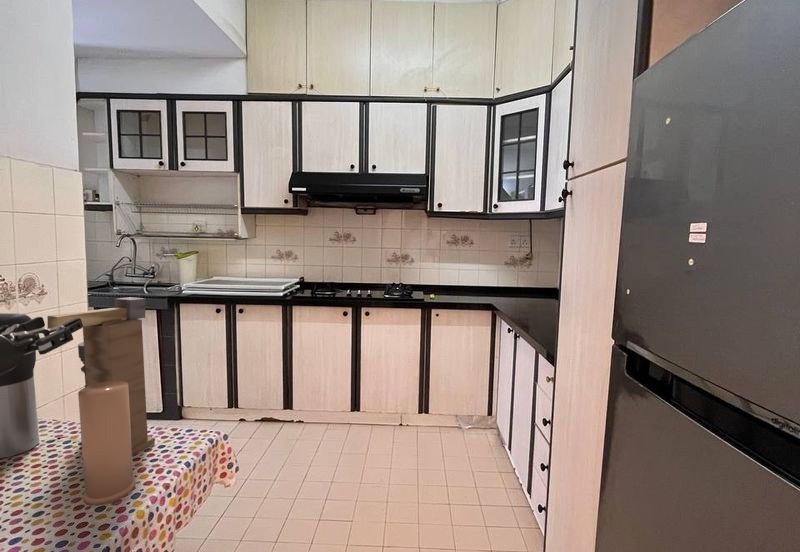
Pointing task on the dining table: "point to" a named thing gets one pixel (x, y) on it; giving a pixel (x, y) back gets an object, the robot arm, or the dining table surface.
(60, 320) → the mallet
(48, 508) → the dining table surface
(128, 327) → the stand
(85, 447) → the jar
